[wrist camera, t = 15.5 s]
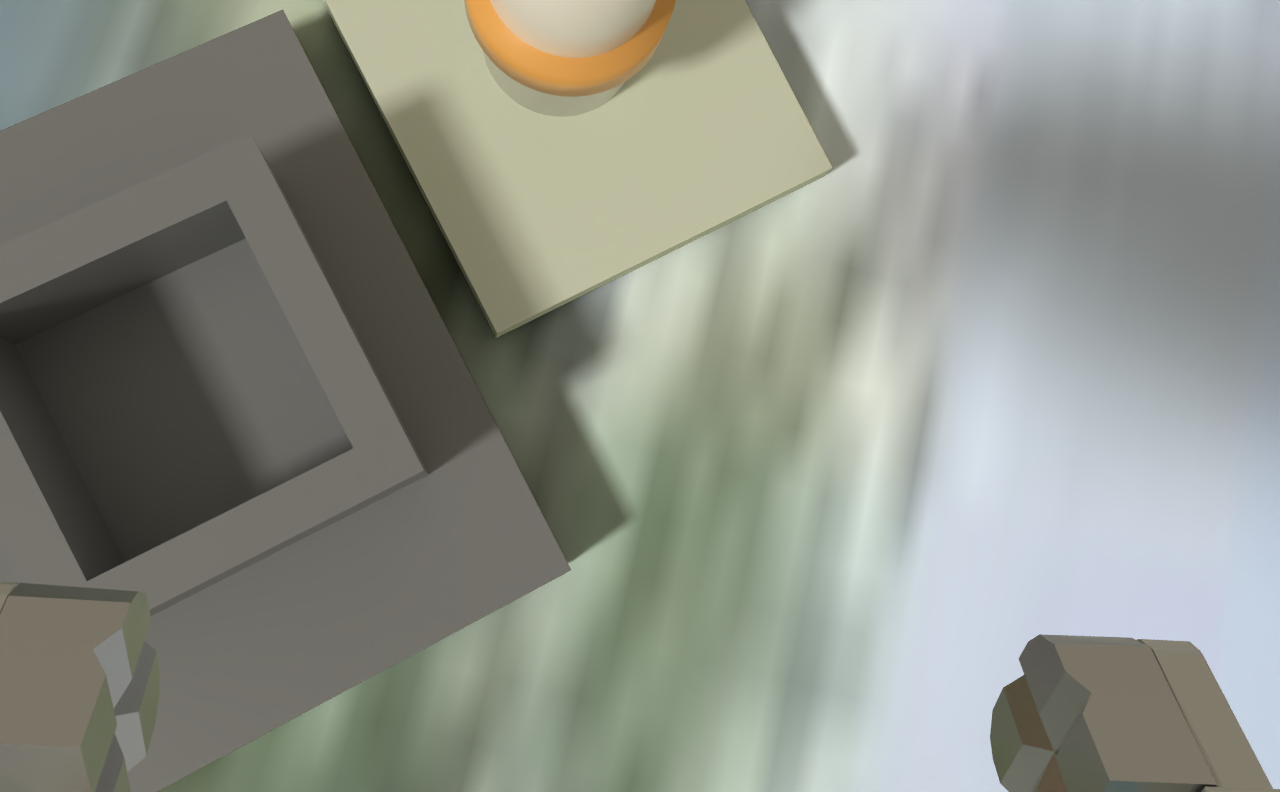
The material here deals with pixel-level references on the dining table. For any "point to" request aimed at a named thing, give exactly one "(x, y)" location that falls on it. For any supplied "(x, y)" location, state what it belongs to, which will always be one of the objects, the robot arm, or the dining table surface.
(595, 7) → the plug
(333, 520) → the socket
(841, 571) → the dining table surface
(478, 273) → the mat
